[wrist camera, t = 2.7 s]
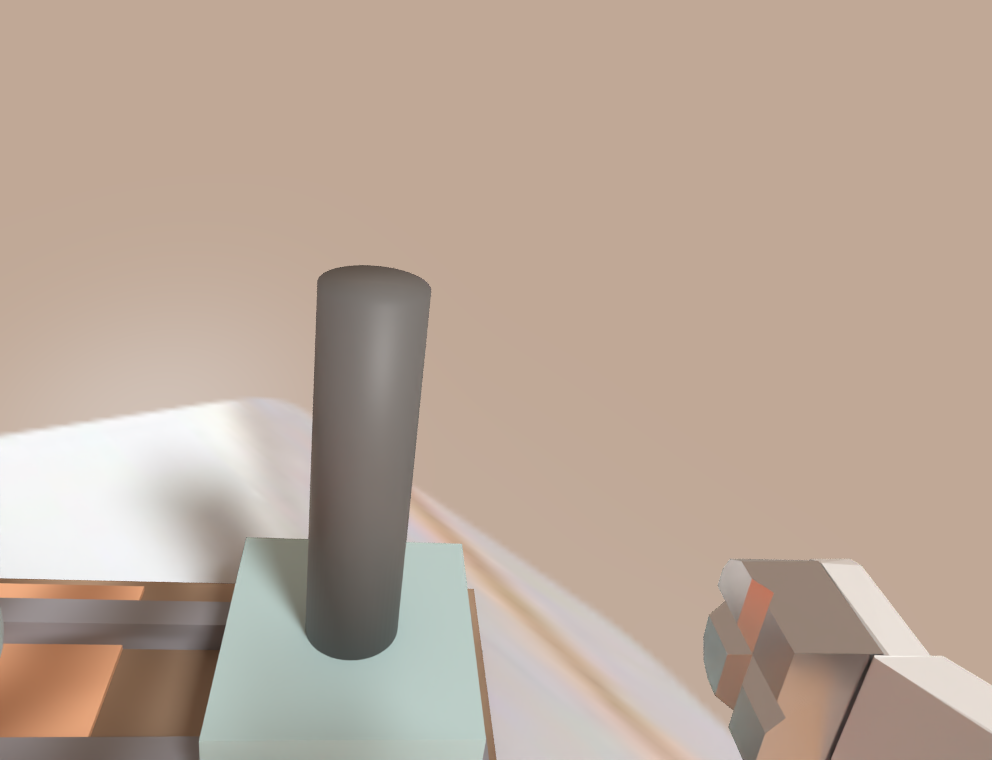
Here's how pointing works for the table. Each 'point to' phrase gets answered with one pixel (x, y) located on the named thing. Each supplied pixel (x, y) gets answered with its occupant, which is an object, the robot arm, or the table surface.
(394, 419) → the carriage
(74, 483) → the table surface
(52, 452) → the table surface
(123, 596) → the rail board
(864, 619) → the robot arm
